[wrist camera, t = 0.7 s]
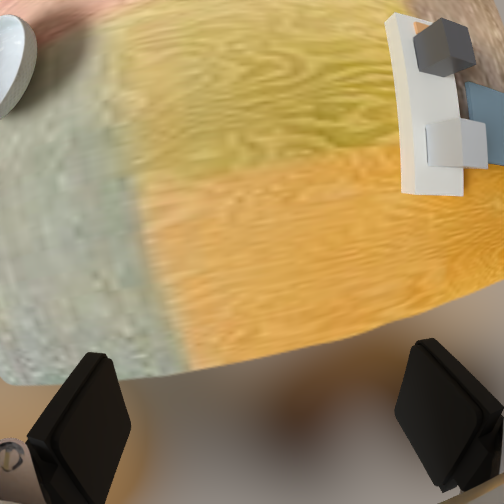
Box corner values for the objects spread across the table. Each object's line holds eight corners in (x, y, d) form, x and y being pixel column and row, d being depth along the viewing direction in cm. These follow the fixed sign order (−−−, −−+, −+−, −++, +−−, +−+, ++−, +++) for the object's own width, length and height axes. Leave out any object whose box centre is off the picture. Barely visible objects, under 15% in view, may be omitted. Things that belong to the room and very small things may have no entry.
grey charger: (419, 126, 32) (459, 117, 24) (444, 129, 32) (485, 123, 24) (421, 165, 33) (463, 165, 25) (446, 167, 34) (488, 169, 25)
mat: (464, 82, 33) (468, 81, 32) (505, 96, 33) (508, 95, 32) (472, 160, 35) (476, 161, 34) (511, 167, 36) (515, 167, 35)
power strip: (384, 22, 31) (396, 10, 27) (431, 34, 31) (445, 24, 27) (401, 192, 36) (417, 194, 32) (448, 194, 36) (466, 196, 32)
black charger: (407, 40, 30) (441, 17, 21) (432, 47, 30) (467, 27, 21) (413, 74, 31) (450, 56, 22) (438, 79, 31) (476, 64, 23)
